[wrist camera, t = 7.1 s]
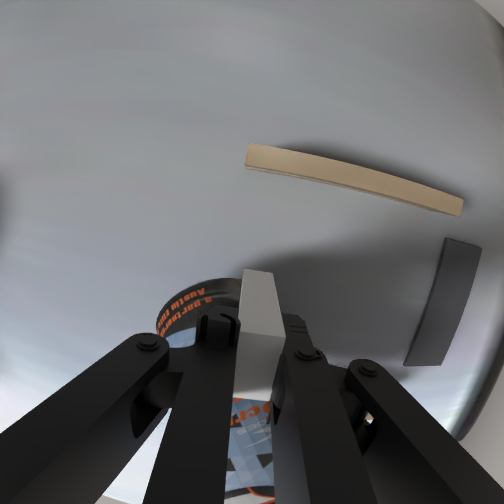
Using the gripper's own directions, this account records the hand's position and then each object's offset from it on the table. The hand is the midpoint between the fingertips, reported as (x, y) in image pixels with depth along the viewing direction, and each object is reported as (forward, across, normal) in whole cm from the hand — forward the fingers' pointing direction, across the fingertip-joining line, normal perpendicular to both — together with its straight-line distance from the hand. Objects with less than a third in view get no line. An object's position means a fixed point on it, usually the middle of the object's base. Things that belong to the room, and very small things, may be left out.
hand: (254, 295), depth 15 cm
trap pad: (+2, +14, 0) cm, 15 cm away
